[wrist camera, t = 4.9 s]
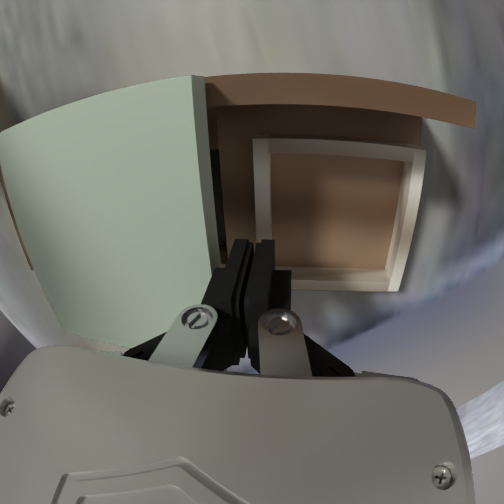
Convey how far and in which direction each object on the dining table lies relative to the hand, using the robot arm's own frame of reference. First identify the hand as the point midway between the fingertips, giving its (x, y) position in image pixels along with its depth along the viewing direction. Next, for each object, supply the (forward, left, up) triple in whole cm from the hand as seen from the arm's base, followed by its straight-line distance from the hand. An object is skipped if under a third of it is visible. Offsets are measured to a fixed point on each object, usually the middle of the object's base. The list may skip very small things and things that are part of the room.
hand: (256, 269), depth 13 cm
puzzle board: (0, -8, -9) cm, 12 cm away
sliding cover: (-1, -7, 0) cm, 7 cm away
